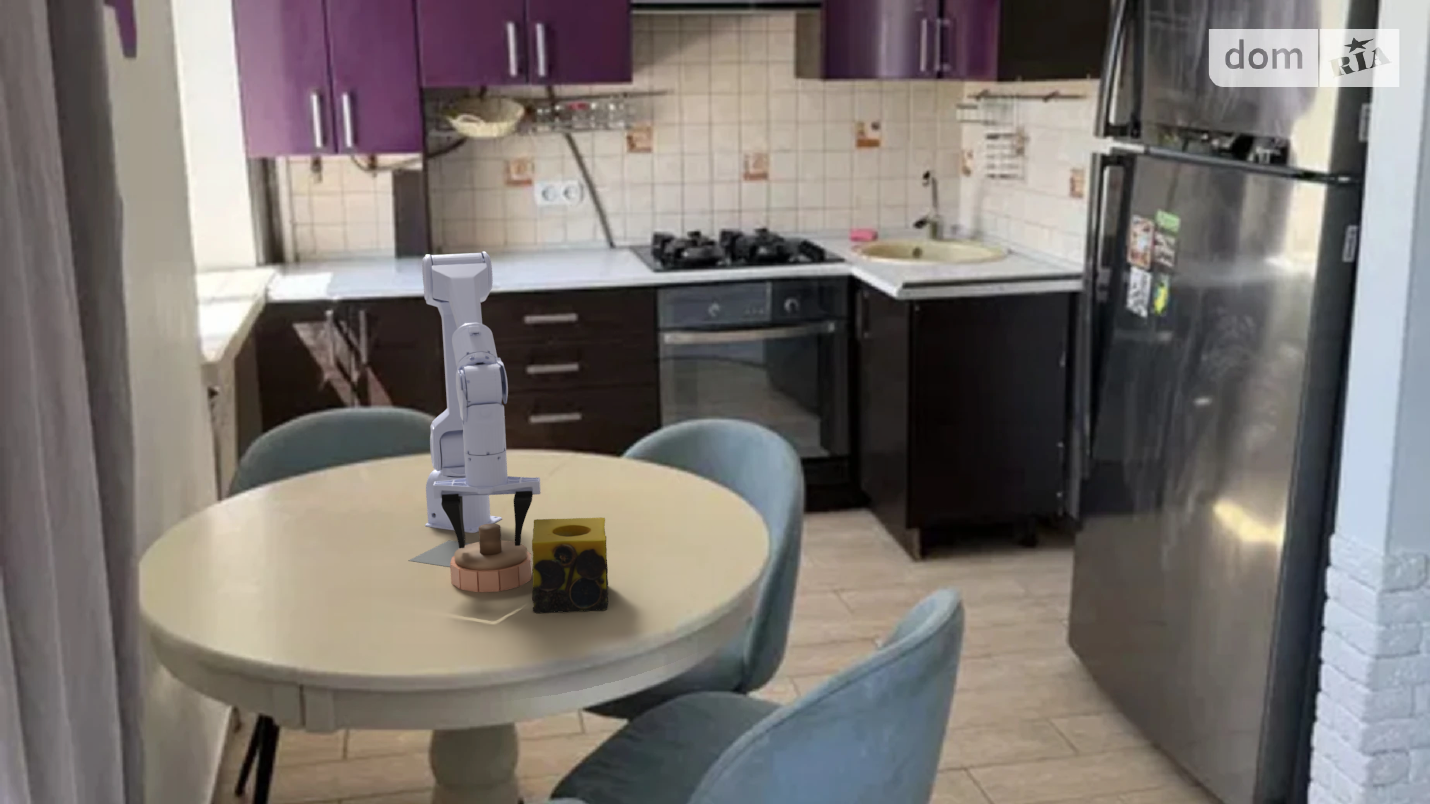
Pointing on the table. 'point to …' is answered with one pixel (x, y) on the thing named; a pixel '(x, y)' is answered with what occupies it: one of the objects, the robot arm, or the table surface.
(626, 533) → the table surface
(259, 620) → the table surface
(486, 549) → the lid
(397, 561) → the table surface
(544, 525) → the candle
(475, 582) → the bowl
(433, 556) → the mat
